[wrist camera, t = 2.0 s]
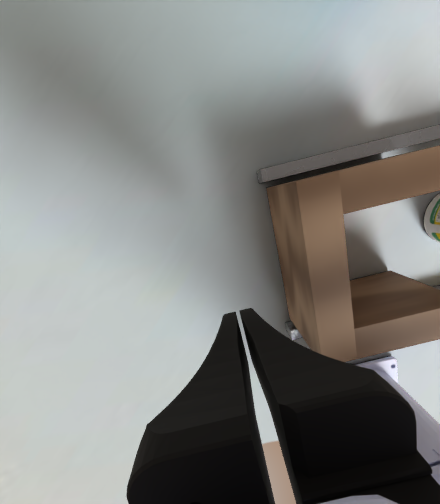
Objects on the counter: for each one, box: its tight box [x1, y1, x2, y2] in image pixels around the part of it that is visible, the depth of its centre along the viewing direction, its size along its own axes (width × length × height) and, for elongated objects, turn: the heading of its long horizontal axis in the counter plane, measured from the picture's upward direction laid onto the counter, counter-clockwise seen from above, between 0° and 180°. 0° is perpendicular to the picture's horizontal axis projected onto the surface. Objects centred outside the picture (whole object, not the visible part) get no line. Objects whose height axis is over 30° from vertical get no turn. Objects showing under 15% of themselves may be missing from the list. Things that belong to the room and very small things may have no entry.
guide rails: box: [257, 124, 440, 340], centre depth 19 cm, size 16×21×2 cm
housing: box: [266, 145, 440, 362], centre depth 17 cm, size 13×10×6 cm
